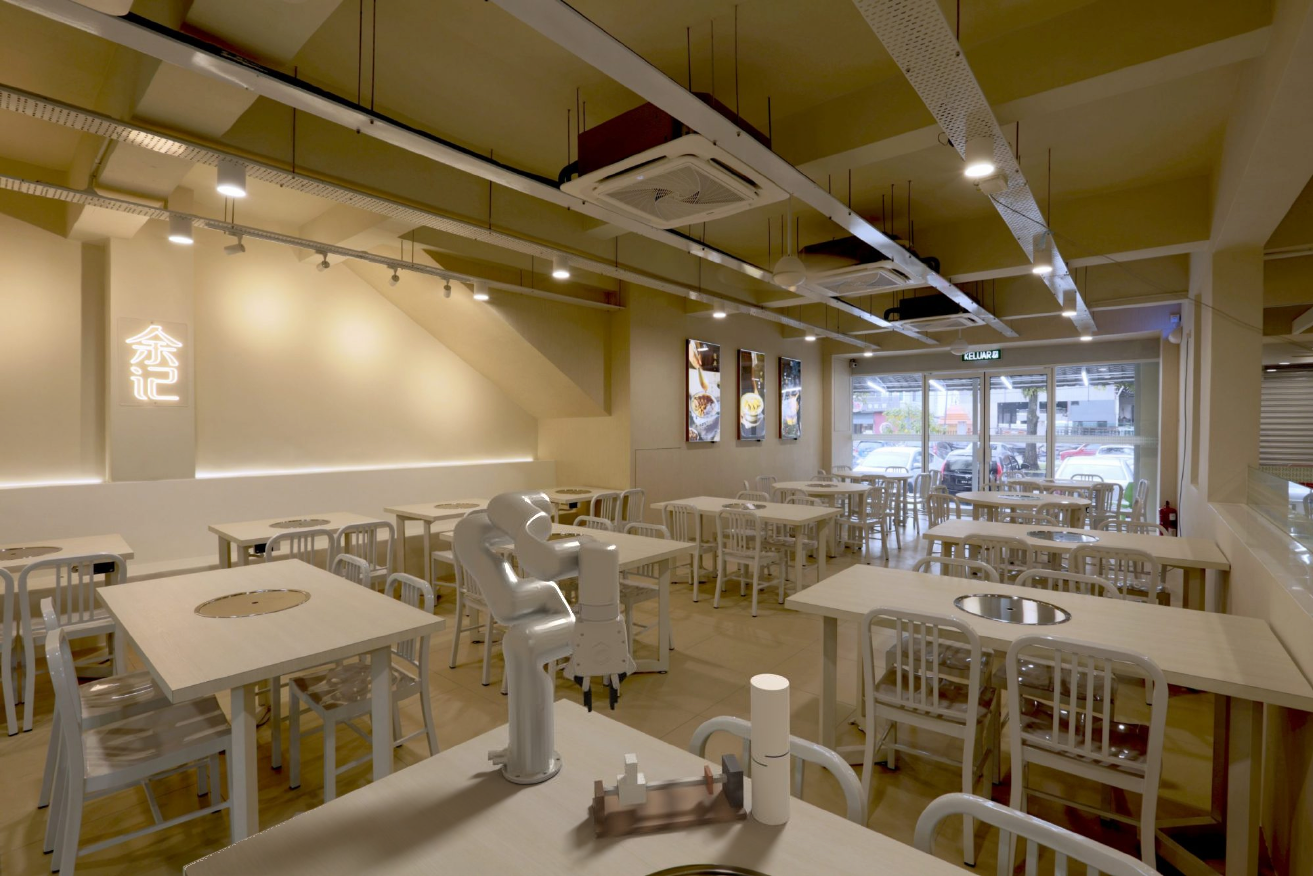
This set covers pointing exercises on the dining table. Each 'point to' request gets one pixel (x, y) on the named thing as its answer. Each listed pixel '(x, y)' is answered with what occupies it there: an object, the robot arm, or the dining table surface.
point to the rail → (673, 803)
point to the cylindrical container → (770, 749)
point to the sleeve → (631, 783)
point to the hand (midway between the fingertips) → (600, 707)
